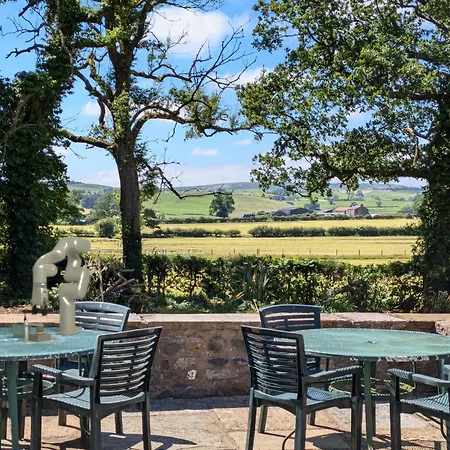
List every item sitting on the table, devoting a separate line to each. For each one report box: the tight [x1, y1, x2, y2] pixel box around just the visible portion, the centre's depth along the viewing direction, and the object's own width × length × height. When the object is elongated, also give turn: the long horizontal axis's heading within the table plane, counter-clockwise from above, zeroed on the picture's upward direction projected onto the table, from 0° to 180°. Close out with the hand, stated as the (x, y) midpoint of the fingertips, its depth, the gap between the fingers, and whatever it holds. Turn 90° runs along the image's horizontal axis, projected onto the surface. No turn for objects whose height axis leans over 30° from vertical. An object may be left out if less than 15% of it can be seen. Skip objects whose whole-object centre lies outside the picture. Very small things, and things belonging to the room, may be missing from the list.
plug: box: [35, 325, 45, 335], centre depth 406 cm, size 5×5×9 cm
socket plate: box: [19, 326, 54, 345], centre depth 404 cm, size 17×10×10 cm, turn 139°
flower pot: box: [11, 321, 32, 339], centre depth 418 cm, size 9×9×9 cm
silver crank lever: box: [23, 321, 44, 327], centre depth 397 cm, size 13×3×2 cm, turn 64°
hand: (39, 315), depth 405 cm, fingers open, 9 cm apart
